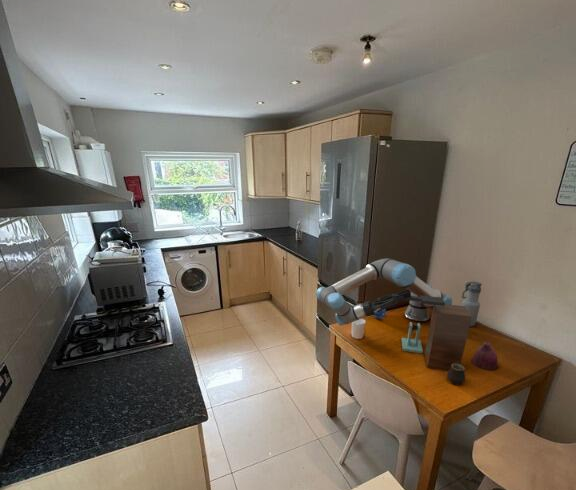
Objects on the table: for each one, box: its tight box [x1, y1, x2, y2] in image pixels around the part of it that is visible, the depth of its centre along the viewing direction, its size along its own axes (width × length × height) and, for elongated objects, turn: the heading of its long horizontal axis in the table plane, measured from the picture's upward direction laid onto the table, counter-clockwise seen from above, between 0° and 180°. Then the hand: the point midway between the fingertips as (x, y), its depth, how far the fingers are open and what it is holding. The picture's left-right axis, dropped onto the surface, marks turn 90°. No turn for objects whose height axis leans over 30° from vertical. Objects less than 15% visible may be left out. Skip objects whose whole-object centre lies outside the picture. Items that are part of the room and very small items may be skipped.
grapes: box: [372, 308, 387, 320], centre depth 198 cm, size 12×7×12 cm, turn 53°
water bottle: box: [461, 280, 483, 327], centre depth 190 cm, size 10×10×28 cm
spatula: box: [391, 293, 445, 306], centre depth 146 cm, size 7×23×2 cm, turn 73°
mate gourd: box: [446, 364, 466, 385], centre depth 137 cm, size 7×8×10 cm
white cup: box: [351, 318, 367, 340], centre depth 177 cm, size 8×8×10 cm
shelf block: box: [424, 304, 472, 372], centre depth 148 cm, size 12×14×30 cm
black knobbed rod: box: [412, 323, 418, 331], centre depth 170 cm, size 15×4×4 cm, turn 163°
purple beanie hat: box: [471, 341, 498, 371], centre depth 149 cm, size 10×10×15 cm
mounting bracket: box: [401, 321, 424, 354], centre depth 166 cm, size 12×10×14 cm
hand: (409, 292), depth 146 cm, fingers closed on spatula, 2 cm apart
